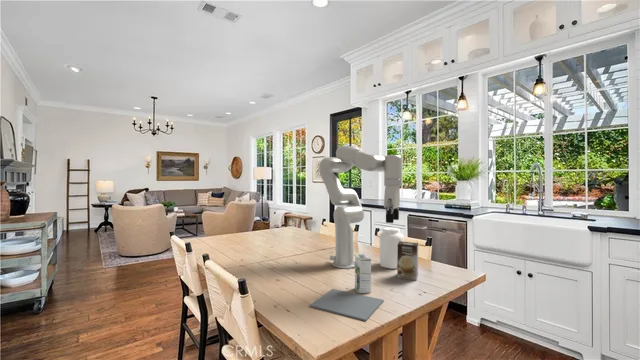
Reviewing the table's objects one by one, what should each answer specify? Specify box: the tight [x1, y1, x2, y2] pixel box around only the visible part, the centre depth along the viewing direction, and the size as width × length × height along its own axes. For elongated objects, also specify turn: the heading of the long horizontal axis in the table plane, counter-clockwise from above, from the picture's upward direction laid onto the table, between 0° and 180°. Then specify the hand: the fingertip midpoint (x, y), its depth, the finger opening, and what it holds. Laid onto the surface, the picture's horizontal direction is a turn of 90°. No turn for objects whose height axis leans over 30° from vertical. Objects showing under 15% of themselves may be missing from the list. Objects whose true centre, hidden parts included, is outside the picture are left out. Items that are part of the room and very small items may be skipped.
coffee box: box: [396, 241, 419, 281], centre depth 139 cm, size 9×6×16 cm
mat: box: [309, 288, 385, 322], centre depth 110 cm, size 22×18×1 cm
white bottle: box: [379, 226, 405, 270], centre depth 157 cm, size 12×12×20 cm
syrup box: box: [354, 253, 372, 294], centre depth 123 cm, size 6×6×14 cm
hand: (392, 221), depth 132 cm, fingers open, 9 cm apart
